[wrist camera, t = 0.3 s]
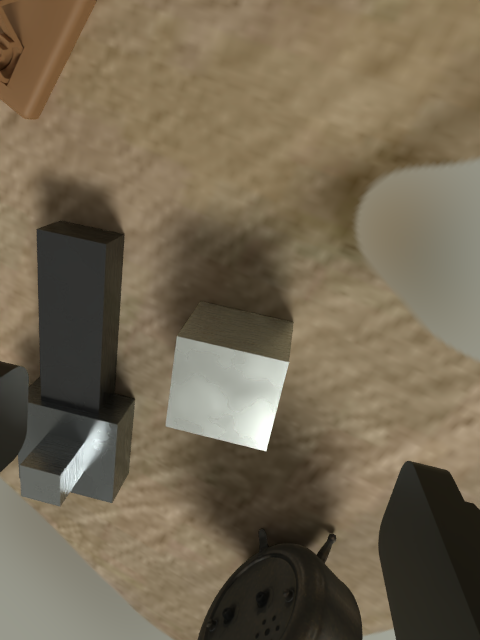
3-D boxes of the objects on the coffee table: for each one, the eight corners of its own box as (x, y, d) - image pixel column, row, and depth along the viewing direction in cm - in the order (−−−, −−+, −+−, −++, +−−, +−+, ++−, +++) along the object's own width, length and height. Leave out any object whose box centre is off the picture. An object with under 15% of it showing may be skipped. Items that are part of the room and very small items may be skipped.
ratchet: (37, 215, 26) (-36, 237, 21) (148, 239, 26) (103, 268, 20) (43, 450, 34) (-9, 511, 28) (128, 472, 33) (92, 539, 28)
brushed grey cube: (200, 301, 27) (176, 336, 22) (293, 322, 26) (288, 362, 22) (188, 380, 29) (165, 426, 24) (274, 400, 29) (265, 451, 24)
